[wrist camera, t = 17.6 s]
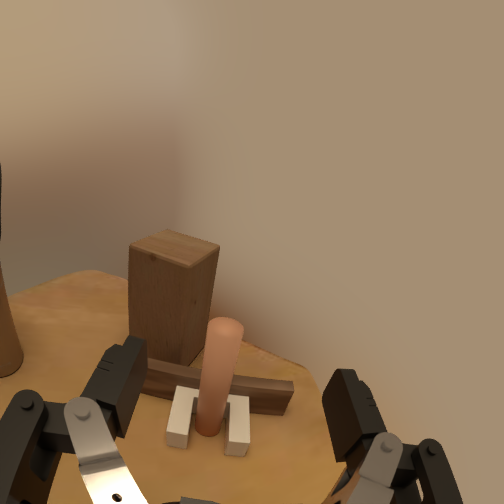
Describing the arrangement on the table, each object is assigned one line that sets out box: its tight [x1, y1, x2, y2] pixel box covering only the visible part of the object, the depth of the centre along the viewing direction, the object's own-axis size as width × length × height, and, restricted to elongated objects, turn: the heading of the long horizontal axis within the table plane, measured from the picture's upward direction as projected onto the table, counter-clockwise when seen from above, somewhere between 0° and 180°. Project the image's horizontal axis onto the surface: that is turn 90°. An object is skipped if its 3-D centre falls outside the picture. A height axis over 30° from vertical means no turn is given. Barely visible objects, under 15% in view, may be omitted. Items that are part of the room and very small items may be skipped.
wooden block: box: [128, 230, 220, 367], centre depth 43 cm, size 10×10×20 cm
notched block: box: [166, 386, 250, 457], centre depth 32 cm, size 8×10×4 cm
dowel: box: [195, 317, 244, 437], centre depth 30 cm, size 4×4×18 cm
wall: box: [140, 358, 294, 415], centre depth 36 cm, size 2×22×6 cm, turn 91°
